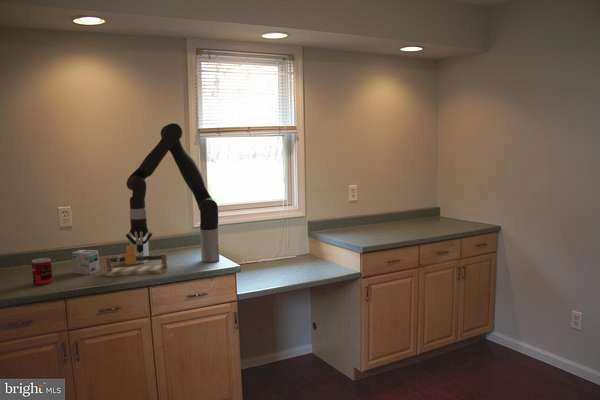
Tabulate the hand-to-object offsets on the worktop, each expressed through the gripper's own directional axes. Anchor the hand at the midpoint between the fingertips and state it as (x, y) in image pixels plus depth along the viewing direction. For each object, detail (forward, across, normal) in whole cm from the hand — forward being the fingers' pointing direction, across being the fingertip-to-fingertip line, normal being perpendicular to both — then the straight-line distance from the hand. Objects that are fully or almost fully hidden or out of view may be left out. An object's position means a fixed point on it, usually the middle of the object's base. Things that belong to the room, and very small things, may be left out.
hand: (140, 252), depth 241 cm
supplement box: (+10, +4, -20) cm, 23 cm away
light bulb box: (+10, +27, -4) cm, 29 cm away
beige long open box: (+10, +2, 0) cm, 10 cm away
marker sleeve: (+5, +4, 0) cm, 7 cm away
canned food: (+10, +42, +11) cm, 44 cm away
